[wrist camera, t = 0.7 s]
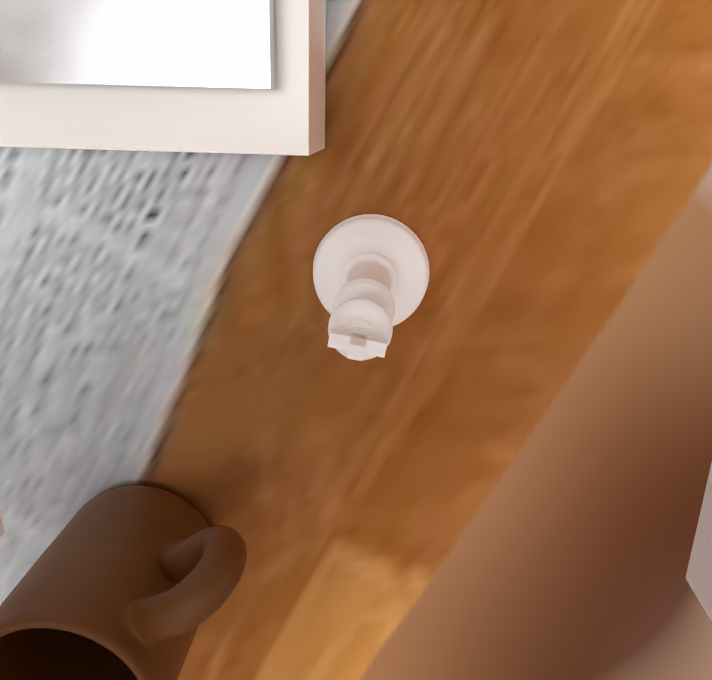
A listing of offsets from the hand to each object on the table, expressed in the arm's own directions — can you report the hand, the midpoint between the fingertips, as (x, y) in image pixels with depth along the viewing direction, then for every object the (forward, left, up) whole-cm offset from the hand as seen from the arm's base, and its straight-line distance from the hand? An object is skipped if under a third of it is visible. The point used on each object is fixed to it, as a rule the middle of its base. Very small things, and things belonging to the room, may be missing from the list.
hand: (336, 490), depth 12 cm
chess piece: (0, 0, -17) cm, 17 cm away
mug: (-9, -13, -17) cm, 23 cm away
